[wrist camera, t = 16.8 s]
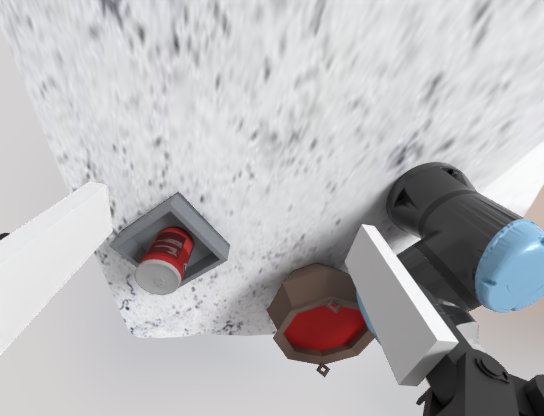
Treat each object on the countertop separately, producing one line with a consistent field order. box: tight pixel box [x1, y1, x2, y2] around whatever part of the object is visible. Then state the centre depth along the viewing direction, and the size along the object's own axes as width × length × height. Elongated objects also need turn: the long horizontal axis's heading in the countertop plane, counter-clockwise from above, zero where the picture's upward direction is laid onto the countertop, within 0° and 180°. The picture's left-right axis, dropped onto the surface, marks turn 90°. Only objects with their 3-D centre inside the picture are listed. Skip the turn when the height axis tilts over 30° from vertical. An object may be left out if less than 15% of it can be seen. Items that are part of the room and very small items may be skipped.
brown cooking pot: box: [267, 263, 375, 377], centre depth 55 cm, size 24×24×16 cm
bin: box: [109, 192, 230, 288], centre depth 51 cm, size 16×16×5 cm
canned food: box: [135, 226, 194, 295], centre depth 47 cm, size 8×8×11 cm
